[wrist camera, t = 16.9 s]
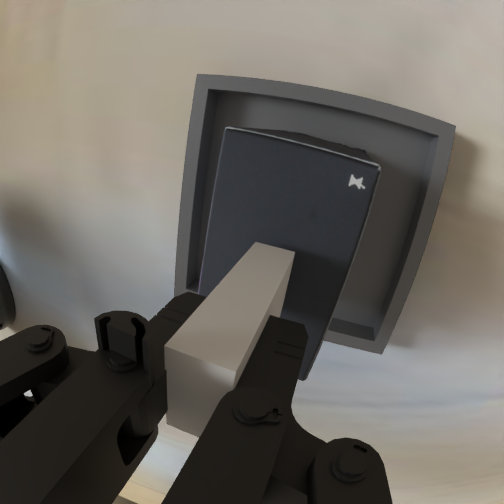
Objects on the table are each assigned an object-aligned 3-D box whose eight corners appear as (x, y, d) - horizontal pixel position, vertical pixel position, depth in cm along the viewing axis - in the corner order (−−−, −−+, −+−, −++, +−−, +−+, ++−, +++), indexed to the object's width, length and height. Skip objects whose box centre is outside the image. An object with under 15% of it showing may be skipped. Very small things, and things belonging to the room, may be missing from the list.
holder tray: (380, 336, 24) (381, 354, 22) (187, 283, 28) (174, 296, 25) (444, 126, 18) (456, 125, 15) (211, 79, 21) (197, 74, 19)
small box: (275, 126, 21) (216, 117, 11) (369, 151, 19) (392, 161, 10) (245, 265, 25) (184, 343, 15) (327, 290, 24) (310, 386, 14)
